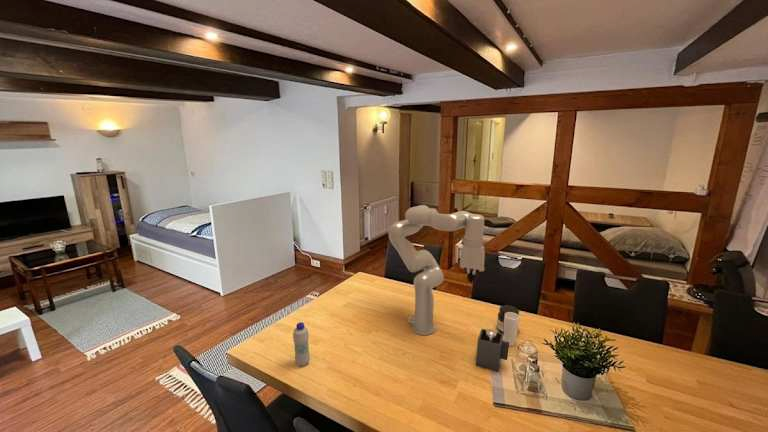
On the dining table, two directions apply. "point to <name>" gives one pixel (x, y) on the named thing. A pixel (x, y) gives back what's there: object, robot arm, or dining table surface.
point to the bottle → (301, 344)
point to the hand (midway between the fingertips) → (470, 281)
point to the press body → (491, 351)
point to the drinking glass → (510, 327)
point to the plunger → (491, 334)
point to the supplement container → (501, 315)
